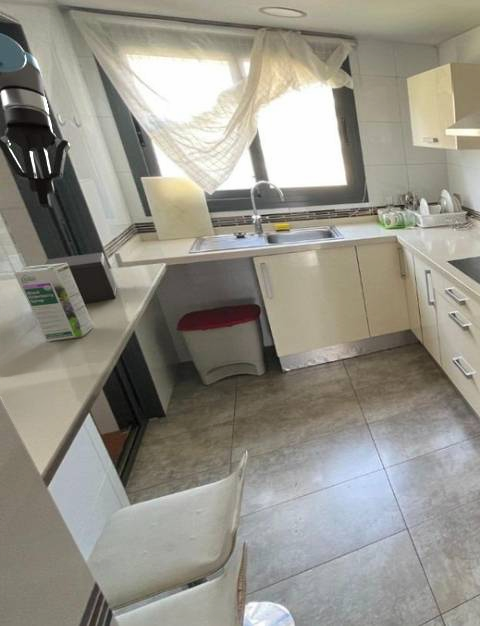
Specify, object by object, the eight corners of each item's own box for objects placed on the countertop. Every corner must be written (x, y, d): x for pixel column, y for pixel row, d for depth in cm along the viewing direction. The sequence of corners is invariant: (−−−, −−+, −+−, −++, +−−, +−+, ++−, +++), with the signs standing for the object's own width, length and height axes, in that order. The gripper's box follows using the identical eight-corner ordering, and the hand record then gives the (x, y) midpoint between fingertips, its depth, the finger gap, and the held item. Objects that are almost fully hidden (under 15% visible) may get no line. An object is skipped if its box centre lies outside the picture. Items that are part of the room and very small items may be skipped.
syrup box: (45, 343, 90) (11, 272, 85) (60, 332, 95) (29, 264, 90) (82, 337, 92) (52, 268, 87) (95, 327, 97) (67, 261, 92)
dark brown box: (115, 298, 115) (102, 264, 111) (59, 308, 108) (43, 272, 105) (116, 287, 123) (104, 255, 120) (63, 296, 117) (49, 263, 113)
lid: (102, 265, 111) (101, 261, 110) (42, 273, 105) (40, 269, 104) (104, 255, 120) (102, 252, 119) (49, 262, 113) (47, 259, 113)
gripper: (68, 123, 120) (86, 210, 119) (-7, 119, 112) (11, 211, 112) (60, 108, 114) (79, 199, 113) (-20, 103, 106) (0, 200, 106)
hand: (45, 205), depth 112 cm, fingers closed
